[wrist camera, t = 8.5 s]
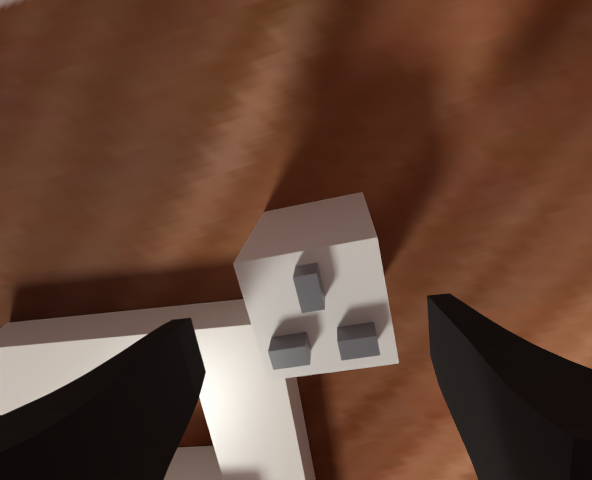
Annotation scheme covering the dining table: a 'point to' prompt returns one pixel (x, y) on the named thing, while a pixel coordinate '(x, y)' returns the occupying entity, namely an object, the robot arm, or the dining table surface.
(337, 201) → the plug
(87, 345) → the socket plate
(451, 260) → the dining table surface
